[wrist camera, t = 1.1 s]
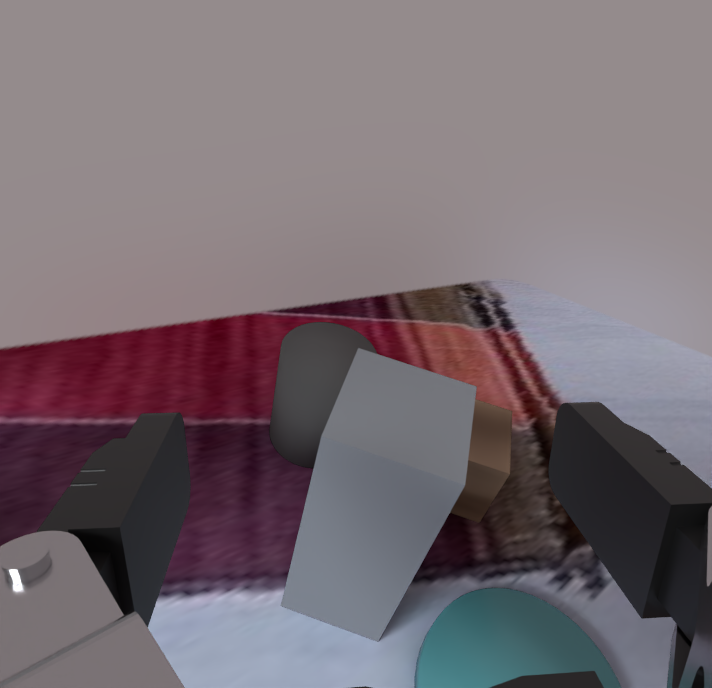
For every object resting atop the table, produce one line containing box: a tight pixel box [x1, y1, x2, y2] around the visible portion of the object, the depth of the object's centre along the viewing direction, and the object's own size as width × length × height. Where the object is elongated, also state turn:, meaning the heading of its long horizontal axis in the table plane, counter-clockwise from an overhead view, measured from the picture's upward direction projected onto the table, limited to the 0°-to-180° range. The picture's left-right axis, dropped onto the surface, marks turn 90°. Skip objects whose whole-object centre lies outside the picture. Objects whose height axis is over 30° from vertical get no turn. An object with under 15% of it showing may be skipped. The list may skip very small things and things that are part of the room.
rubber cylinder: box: [269, 322, 377, 468], centre depth 32 cm, size 6×6×7 cm
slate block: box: [281, 348, 477, 642], centre depth 24 cm, size 5×5×13 cm
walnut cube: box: [450, 399, 512, 523], centre depth 33 cm, size 5×5×5 cm
